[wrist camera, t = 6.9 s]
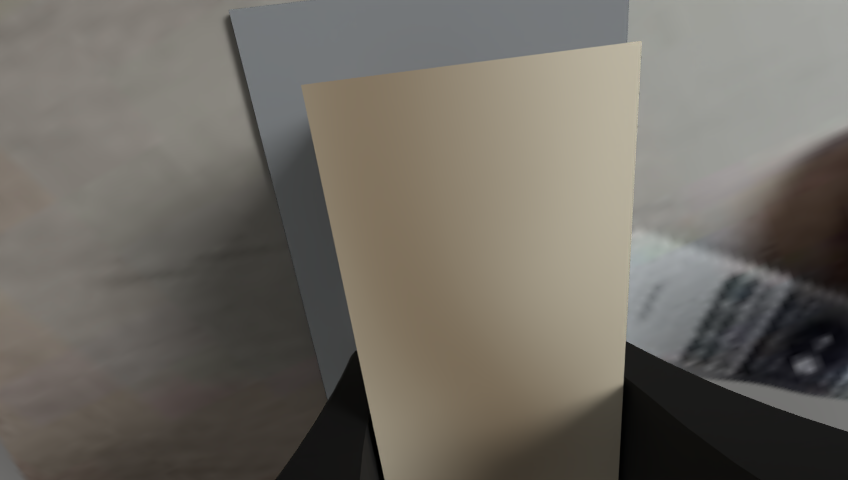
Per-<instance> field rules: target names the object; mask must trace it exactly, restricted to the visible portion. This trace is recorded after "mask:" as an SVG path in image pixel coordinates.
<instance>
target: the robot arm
mask: <svg viewBox="0 0 848 480" xmlns="http://www.w3.org/2000/svg"><path fill="white" fill-rule="evenodd" d="M276 480H384V475H383V470H382V465H381V461H380V456H379V451H378V447H377V442H376V437H375V432H374V428H373V423H372V418H371V413H370V409H369V404H368V399H367V395H366V390H365V385H364V380H363V376H362V371H361V366H360V362H359V357H358V352H357V351H355V352H354V353H353V354H352V355H351V357H350V359H349V361H348V363H347V366H346V368H345V370H344V372H343V374H342V376H341V378H340V380H339V381H338V383H337V385H336V387H335V389H334V391H333V393H332V394H331V396H330V398H329V399H328V401H327V403H326V405H325V406H324V408H323V410H322V412H321V413H320V415H319V417H318V418H317V420H316V422H315V423H314V425H313V426H312V428H311V429H310V431H309V432H308V434H307V435H306V437H305V438H304V440H303V441H302V443H301V444H300V446H299V447H298V449H297V450H296V452H295V453H294V455H293V456H292V458H291V459H290V461H289V462H288V463H287V465H286V466H285V467H284V469H283V470H282V472H281V473H280V474H279V476H278V477H277V478H276ZM618 480H848V432H847V431H844V430H841V429H837V428H834V427H831V426H828V425H825V424H822V423H819V422H816V421H812V420H810V419H806V418H803V417H800V416H797V415H795V414H792V413H789V412H786V411H783V410H780V409H777V408H775V407H772V406H769V405H766V404H764V403H762V402H759V401H756V400H754V399H751V398H749V397H746V396H743V395H741V394H738V393H735V392H733V391H730V390H728V389H726V388H723V387H721V386H719V385H716V384H714V383H711V382H709V381H707V380H705V379H702V378H700V377H698V376H696V375H694V374H691V373H689V372H687V371H685V370H683V369H680V368H678V367H676V366H674V365H672V364H670V363H668V362H666V361H664V360H662V359H660V358H658V357H656V356H654V355H652V354H650V353H648V352H646V351H644V350H642V349H640V348H638V347H636V346H634V345H632V344H630V343H628V342H626V346H625V365H624V383H623V402H622V421H621V439H620V458H619V477H618Z"/></svg>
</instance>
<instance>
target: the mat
mask: <svg viewBox="0 0 848 480" xmlns="http://www.w3.org/2000/svg"><path fill="white" fill-rule="evenodd" d="M628 12H629V0H310V1H301V2H293V3H284V4H275V5H267V6H258V7H250V8H241V9H233V10H229V13H230V17H231V21H232V25H233V29H234V33H235V37H236V41H237V45H238V49H239V53H240V57H241V60H242V64H243V68H244V72H245V76H246V80H247V84H248V88H249V92H250V96H251V100H252V104H253V108H254V112H255V116H256V120H257V124H258V128H259V131H260V135H261V139H262V143H263V147H264V151H265V155H266V159H267V163H268V167H269V171H270V175H271V179H272V183H273V187H274V191H275V195H276V199H277V202H278V206H279V210H280V214H281V218H282V222H283V226H284V230H285V234H286V238H287V242H288V246H289V250H290V254H291V258H292V262H293V266H294V270H295V273H296V277H297V281H298V285H299V289H300V293H301V297H302V301H303V305H304V309H305V313H306V317H307V321H308V325H309V329H310V333H311V337H312V341H313V344H314V348H315V352H316V356H317V360H318V364H319V368H320V372H321V376H322V380H323V384H324V388H325V392H326V396H327V400H328V399H329V398H330V396H331V394H332V393H333V391H334V389H335V387H336V385H337V383H338V381H339V380H340V378H341V376H342V374H343V372H344V370H345V368H346V366H347V363H348V361H349V359H350V357H351V355H352V354H353V353H354V352H355V351H357V347H356V343H355V338H354V333H353V328H352V324H351V319H350V314H349V310H348V305H347V300H346V295H345V291H344V286H343V281H342V277H341V272H340V267H339V262H338V258H337V253H336V248H335V244H334V239H333V234H332V229H331V225H330V220H329V215H328V210H327V206H326V201H325V196H324V192H323V187H322V182H321V177H320V173H319V168H318V163H317V159H316V154H315V149H314V144H313V140H312V135H311V130H310V125H309V121H308V116H307V111H306V107H305V102H304V97H303V92H302V88H301V85H304V84H312V83H320V82H327V81H335V80H343V79H351V78H358V77H366V76H374V75H382V74H389V73H397V72H405V71H412V70H420V69H428V68H436V67H443V66H451V65H459V64H467V63H474V62H482V61H490V60H498V59H505V58H513V57H521V56H529V55H536V54H544V53H552V52H559V51H567V50H575V49H583V48H590V47H598V46H606V45H614V44H621V43H627V35H628Z"/></svg>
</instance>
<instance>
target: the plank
mask: <svg viewBox="0 0 848 480" xmlns="http://www.w3.org/2000/svg"><path fill="white" fill-rule="evenodd" d="M641 47H642V41H637V42H629V43H621V44H614V45H606V46H598V47H590V48H583V49H575V50H567V51H559V52H552V53H544V54H536V55H529V56H521V57H513V58H505V59H498V60H490V61H482V62H474V63H467V64H459V65H451V66H443V67H436V68H428V69H420V70H412V71H405V72H397V73H389V74H382V75H374V76H366V77H358V78H351V79H343V80H335V81H327V82H320V83H312V84H304V85H301V88H302V92H303V97H304V102H305V107H306V111H307V116H308V121H309V125H310V130H311V135H312V140H313V144H314V149H315V154H316V159H317V163H318V168H319V173H320V177H321V182H322V187H323V192H324V196H325V201H326V206H327V210H328V215H329V220H330V225H331V229H332V234H333V239H334V244H335V248H336V253H337V258H338V262H339V267H340V272H341V277H342V281H343V286H344V291H345V295H346V300H347V305H348V310H349V314H350V319H351V324H352V328H353V333H354V338H355V343H356V347H357V352H358V357H359V362H360V366H361V371H362V376H363V380H364V385H365V390H366V395H367V399H368V404H369V409H370V413H371V418H372V423H373V428H374V432H375V437H376V442H377V447H378V451H379V456H380V461H381V465H382V470H383V475H384V480H618V477H619V458H620V439H621V421H622V402H623V383H624V365H625V346H626V327H627V308H628V290H629V271H630V252H631V234H632V215H633V196H634V177H635V159H636V140H637V121H638V103H639V84H640V65H641Z"/></svg>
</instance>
